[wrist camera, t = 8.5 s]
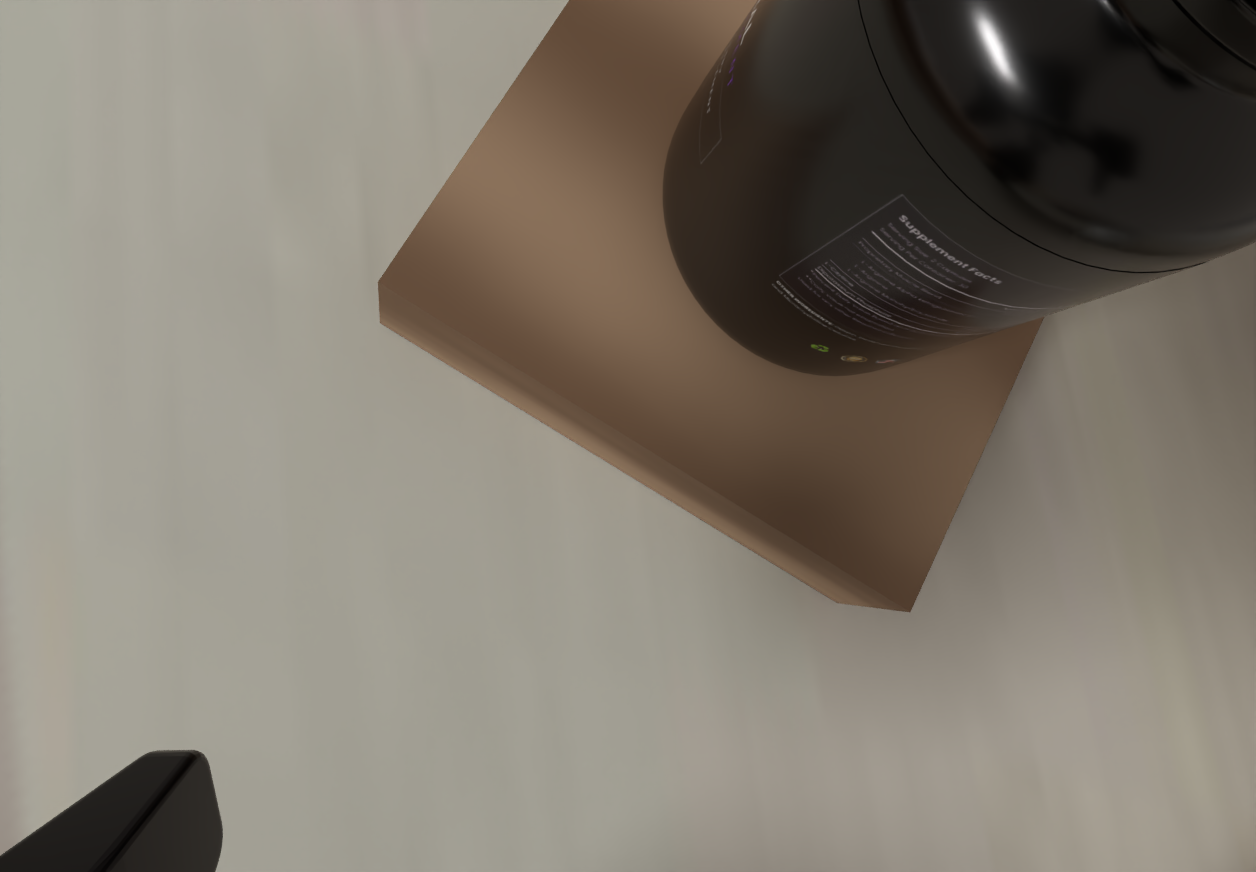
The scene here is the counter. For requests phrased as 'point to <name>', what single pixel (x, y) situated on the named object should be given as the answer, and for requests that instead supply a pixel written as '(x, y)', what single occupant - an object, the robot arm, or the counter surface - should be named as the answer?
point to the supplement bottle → (955, 167)
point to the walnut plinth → (677, 322)
